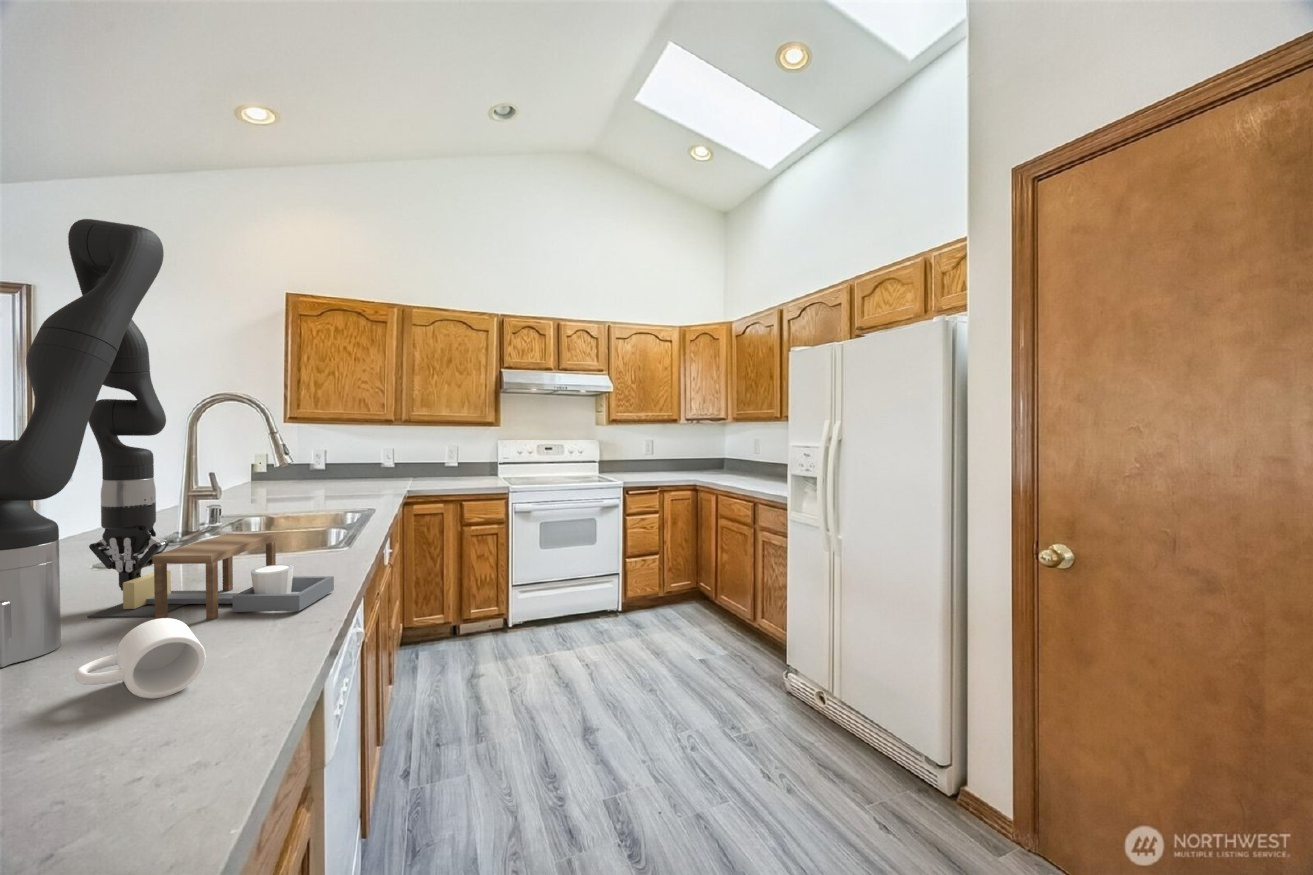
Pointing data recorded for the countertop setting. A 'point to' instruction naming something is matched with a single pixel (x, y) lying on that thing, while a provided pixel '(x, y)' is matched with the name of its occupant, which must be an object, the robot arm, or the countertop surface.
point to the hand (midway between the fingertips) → (130, 589)
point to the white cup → (272, 579)
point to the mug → (151, 660)
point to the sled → (234, 595)
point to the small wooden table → (208, 565)
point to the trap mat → (138, 609)
